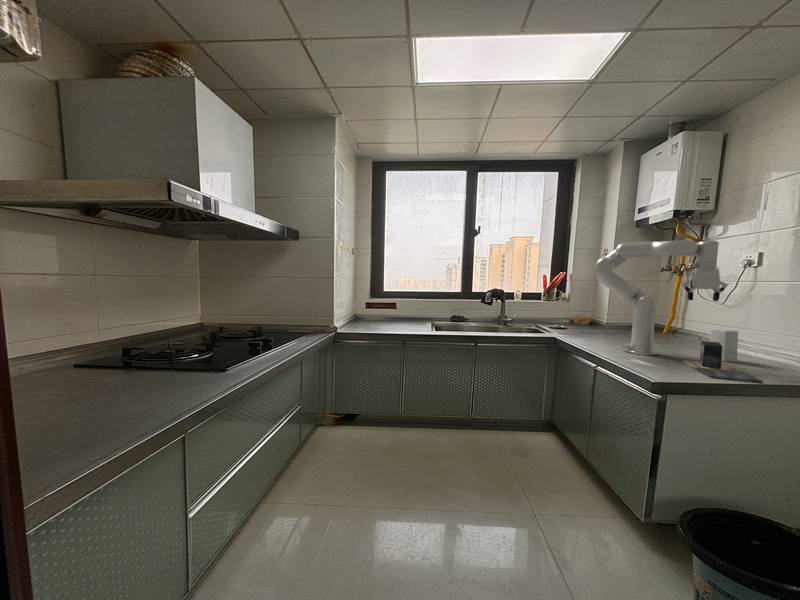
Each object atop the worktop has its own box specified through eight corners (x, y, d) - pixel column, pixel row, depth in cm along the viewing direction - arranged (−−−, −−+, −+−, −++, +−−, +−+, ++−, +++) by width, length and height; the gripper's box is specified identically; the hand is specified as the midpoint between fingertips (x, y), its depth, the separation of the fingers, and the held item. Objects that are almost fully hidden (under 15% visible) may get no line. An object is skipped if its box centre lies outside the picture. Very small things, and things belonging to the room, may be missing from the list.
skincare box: (737, 362, 158) (740, 331, 156) (723, 362, 158) (726, 331, 156) (720, 357, 166) (723, 328, 165) (707, 357, 166) (710, 328, 165)
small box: (698, 361, 153) (700, 340, 153) (717, 364, 149) (719, 342, 149) (701, 366, 145) (703, 344, 144) (721, 369, 141) (723, 346, 140)
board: (710, 377, 132) (710, 375, 132) (682, 362, 156) (683, 360, 156) (762, 383, 126) (762, 380, 126) (725, 366, 150) (725, 364, 150)
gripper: (687, 265, 157) (684, 300, 158) (733, 265, 150) (729, 301, 152) (680, 266, 164) (677, 299, 165) (724, 266, 157) (721, 300, 159)
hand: (702, 300), depth 158 cm, fingers open, 9 cm apart
